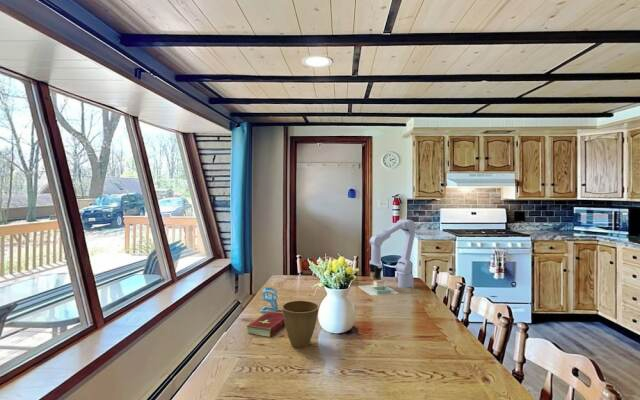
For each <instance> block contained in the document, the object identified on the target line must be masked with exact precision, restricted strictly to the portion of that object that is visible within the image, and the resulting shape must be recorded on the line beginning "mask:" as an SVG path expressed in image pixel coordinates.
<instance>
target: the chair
mask: <svg viewBox="0 0 640 400" xmlns="http://www.w3.org/2000/svg"><path fill="white" fill-rule="evenodd" d="M265 294H266V295H265ZM269 294H271V295H269ZM277 294H278V289H276V288H273V287H265V288H263V290H262V295H263V297H262V298H261V301H265V302H267V303H269V304H270V305H271V306H267V305H265V306H264V307H263V308H261V309H260V311H259V312H260V314H261V313H263V314H265V313H266V312H268V311H273V312H279V307H278V302H277V299H278V295H277ZM265 309H267V310H265Z"/></svg>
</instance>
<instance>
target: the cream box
mask: <svg viewBox="0 0 640 400" xmlns="http://www.w3.org/2000/svg"><path fill="white" fill-rule="evenodd" d="M372 281H373V285H374V286H375V287H382V286H384V284H385V280H383V279H381V280H372Z"/></svg>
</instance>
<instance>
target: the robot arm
mask: <svg viewBox="0 0 640 400" xmlns="http://www.w3.org/2000/svg"><path fill="white" fill-rule="evenodd" d="M415 229H416V223H415V222H414V220H412V219H407V218H400V219H399V220H397V221H396V222H395V223H394V224H393V225H392V226H390V227H389V228H388V229H382V230H381V231H380V232H379V233H376V235H372V236H371V237H370V239H369V240H368V241H369V244H370V247H371V249H370V250H371V253H370V258H371V259H370V260H369V265H368V267H369V269H370V272H375V277H376V279H378V278H379V277H380V274H381V275H382V271H383V270H384V267H383V264H382V262H381V256H382V255H381V254H382V253H381V252H382V251H381V249H382V248H381V247H382V245H383V243H384V242H385V241H387V240H388V239H390V238H391V235H392V234H394V233H395V232H397V231H399V230H402V231H403V232H404V233H405V238H404V242H403V246H402V247H403V248H402V253H401V256H400V258H398V261H397V263H396V265H395V270H396V272H397V287H398V288H400V289H401V288H402V289H403V288H404V289H406V288H412V289H414V288H415V287H414V278H415V277H414V275H413V274H412V272H413V266H412V265H413V263H412V261H411V256H412V250H413V245H414V242H415V241H414V240H415V237H416V236H415V235H416V230H415Z"/></svg>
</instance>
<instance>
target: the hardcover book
mask: <svg viewBox="0 0 640 400" xmlns="http://www.w3.org/2000/svg"><path fill="white" fill-rule="evenodd" d="M245 327H247V330H246V331H247V334H250V335H257V336H263V337H269V338H271V337H273V335H275V334H276V333H278V332H279V331H280V330H281V329H282V328H283V327H286V326H285V322H284V316H283V312H281V311H280V312H279V311H277V312H273V311H268V312H266V313H263V314H261V315H260V316H259V317H257V318H255V319H254V320H253V321H251V322H249V323H248V324H246V326H245Z"/></svg>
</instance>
